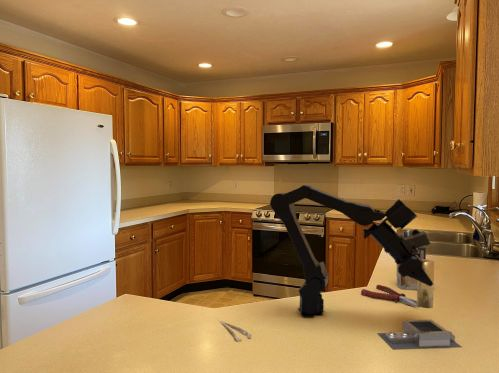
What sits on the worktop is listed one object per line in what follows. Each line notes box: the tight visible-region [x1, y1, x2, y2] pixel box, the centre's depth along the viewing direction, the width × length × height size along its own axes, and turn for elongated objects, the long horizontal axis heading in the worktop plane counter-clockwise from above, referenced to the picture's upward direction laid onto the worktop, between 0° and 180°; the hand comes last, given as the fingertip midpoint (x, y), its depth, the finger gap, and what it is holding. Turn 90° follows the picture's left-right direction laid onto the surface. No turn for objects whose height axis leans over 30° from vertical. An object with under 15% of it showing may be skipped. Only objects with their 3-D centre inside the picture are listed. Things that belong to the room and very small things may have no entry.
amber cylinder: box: [416, 259, 435, 309], centre depth 100 cm, size 4×4×12 cm
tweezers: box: [218, 320, 252, 343], centre depth 101 cm, size 18×5×2 cm, turn 32°
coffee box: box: [395, 246, 427, 291], centre depth 138 cm, size 9×6×16 cm
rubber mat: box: [376, 332, 463, 351], centre depth 93 cm, size 18×9×1 cm, turn 95°
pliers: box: [360, 284, 421, 308], centre depth 125 cm, size 12×20×3 cm, turn 36°
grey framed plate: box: [385, 319, 456, 348], centre depth 93 cm, size 17×8×4 cm, turn 95°
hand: (431, 282), depth 100 cm, fingers closed on amber cylinder, 4 cm apart
